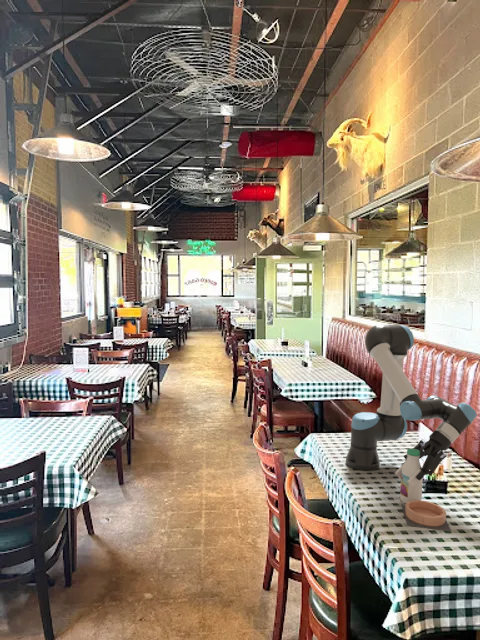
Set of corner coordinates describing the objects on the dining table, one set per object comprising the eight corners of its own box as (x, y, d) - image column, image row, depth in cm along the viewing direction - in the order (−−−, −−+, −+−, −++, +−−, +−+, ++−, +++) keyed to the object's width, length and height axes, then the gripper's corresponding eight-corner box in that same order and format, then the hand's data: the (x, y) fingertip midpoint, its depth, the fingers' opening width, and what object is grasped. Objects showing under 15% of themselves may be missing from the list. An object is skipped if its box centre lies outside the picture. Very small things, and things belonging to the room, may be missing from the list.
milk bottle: (420, 499, 179) (424, 448, 178) (421, 507, 172) (425, 455, 171) (399, 495, 182) (402, 445, 180) (399, 503, 174) (402, 451, 173)
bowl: (408, 523, 158) (408, 514, 158) (403, 506, 171) (403, 498, 171) (449, 529, 156) (449, 519, 156) (440, 511, 168) (441, 502, 168)
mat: (407, 526, 157) (407, 525, 157) (401, 505, 173) (401, 504, 173) (451, 532, 154) (451, 531, 154) (441, 510, 170) (441, 509, 170)
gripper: (467, 452, 169) (425, 498, 166) (432, 434, 189) (394, 475, 186) (456, 438, 167) (413, 484, 165) (421, 422, 187) (383, 463, 185)
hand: (403, 479), depth 175 cm, fingers closed on milk bottle, 7 cm apart
